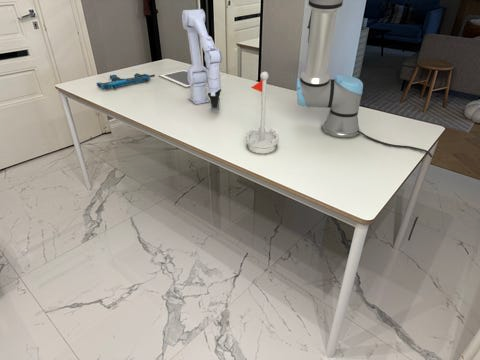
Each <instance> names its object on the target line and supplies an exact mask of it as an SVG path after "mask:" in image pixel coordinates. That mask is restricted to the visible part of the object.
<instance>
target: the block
mask: <svg viewBox="0 0 480 360" xmlns="http://www.w3.org/2000/svg"><path fill="white" fill-rule="evenodd" d="M209 104H210V111H220V109H221V98H220V97H219V98H218V105H217V108H213V107H212V104H211V100H210V99H209Z"/></svg>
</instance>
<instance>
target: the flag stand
mask: <svg viewBox="0 0 480 360" xmlns="http://www.w3.org/2000/svg"><path fill="white" fill-rule="evenodd" d="M269 76H270V75H269V72H267V71H262V72H261V73H260V79H261V80H260V81H259V82H257V83H256V84H254V85H253V86H251V87H250V88H251V89H253V90H256V91H257V92H260V93H261V105H260V106H261V107H260V127H259V128H258V130H255V129H254V128H252V129H249V130H248V133H247V132H246V133H245V143H247V147H248V149H249V150H250V152H253V153H256V154H269V153H272V152H274V151H275V150H276V147H277V146H276V145H278V144H279V139H280V134H279V133H276V130H274V129H272V128H270V129H269V130H266V127H265V126H266V125H265V124H266V103H267V101H266V100H267V80H268V79H269Z"/></svg>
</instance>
